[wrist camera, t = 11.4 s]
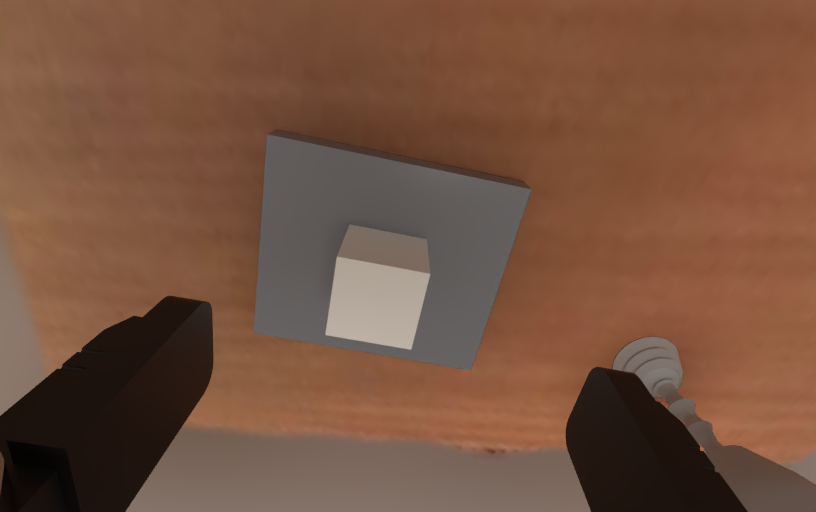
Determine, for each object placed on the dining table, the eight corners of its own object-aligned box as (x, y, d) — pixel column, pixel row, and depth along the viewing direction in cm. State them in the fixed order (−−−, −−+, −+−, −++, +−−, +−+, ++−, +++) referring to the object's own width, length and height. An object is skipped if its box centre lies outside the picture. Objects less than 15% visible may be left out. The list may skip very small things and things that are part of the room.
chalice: (617, 410, 35) (800, 710, 19) (584, 354, 33) (760, 640, 16) (704, 372, 33) (990, 665, 17) (677, 310, 31) (976, 580, 15)
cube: (427, 239, 27) (430, 273, 22) (411, 305, 29) (411, 349, 24) (349, 224, 26) (336, 256, 22) (339, 292, 28) (325, 335, 24)
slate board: (523, 181, 27) (531, 189, 25) (467, 353, 33) (471, 370, 31) (277, 129, 26) (266, 134, 24) (262, 317, 32) (253, 332, 30)
